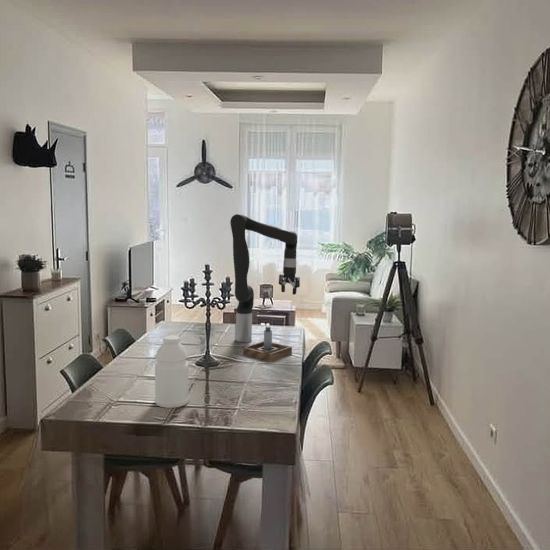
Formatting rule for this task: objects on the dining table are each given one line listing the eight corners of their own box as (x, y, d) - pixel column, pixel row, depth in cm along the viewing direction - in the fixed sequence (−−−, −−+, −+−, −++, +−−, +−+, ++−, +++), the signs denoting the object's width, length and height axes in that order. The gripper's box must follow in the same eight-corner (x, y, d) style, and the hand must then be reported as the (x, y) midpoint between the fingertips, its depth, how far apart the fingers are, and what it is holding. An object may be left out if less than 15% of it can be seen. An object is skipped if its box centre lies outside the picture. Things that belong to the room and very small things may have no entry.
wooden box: (243, 354, 297) (243, 347, 296) (265, 347, 312) (265, 340, 311) (270, 361, 285) (270, 354, 285) (291, 353, 300) (291, 346, 299)
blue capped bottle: (262, 352, 298) (262, 327, 296) (267, 350, 301) (267, 325, 299) (268, 353, 295) (268, 328, 293) (273, 351, 299) (273, 327, 297)
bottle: (158, 410, 218) (157, 343, 214) (151, 398, 231) (151, 334, 227) (192, 405, 224) (192, 340, 220) (184, 394, 237) (184, 331, 232)
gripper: (276, 264, 317) (275, 292, 319) (294, 267, 307) (293, 295, 310) (284, 263, 322) (283, 290, 325) (303, 266, 313) (302, 294, 315)
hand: (288, 293), depth 317 cm, fingers open, 8 cm apart
